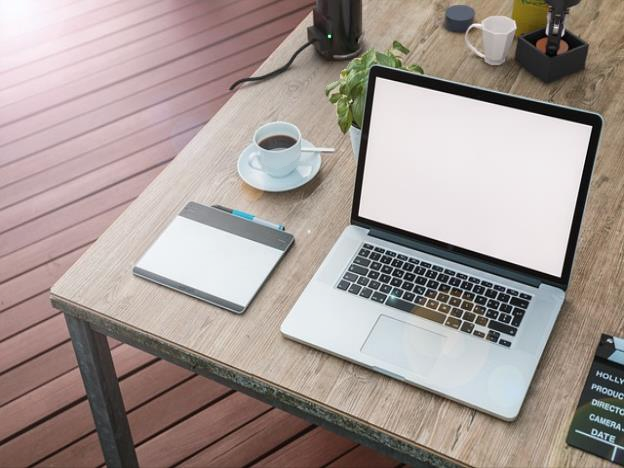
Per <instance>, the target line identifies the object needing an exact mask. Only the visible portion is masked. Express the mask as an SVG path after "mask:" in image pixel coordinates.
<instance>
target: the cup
mask: <svg viewBox="0 0 624 468" xmlns="http://www.w3.org/2000/svg"><path fill="white" fill-rule="evenodd" d="M473 28H477V29H480V30H481V33H482V34H481V35H482V36H481V38H482V46H483V53H481V51H479V50H478V49H476V48H475V47H474V45H472V44H471V42H470V41H469V38H468V35H469V31H470V30H471V29H473ZM516 29H517V28H516V23H515V21H514V20H512V19H511V18H510V17H508V16H506V15H490V16H488V17H486V18H484V19H483V20H482V21H481V23H474V24H472V25H471V26H470V27H469V28H468V30H467V31H465V36H464V42H465V44H466V45H467V47H468V48H469V49H470V50H471V51H472V52H473V53H474V54H475V55H477V56H478V57H479V58H483V59H484V63H486V64H488V65H491V66H501V65H502V64H504V63H505V62H506V57H508V54H509V52H510V49H511V46H512V45H513V44H512V43H513V40H514V38H515V37H514V35H515V32H516Z"/></svg>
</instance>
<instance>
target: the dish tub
mask: <svg viewBox="0 0 624 468" xmlns="http://www.w3.org/2000/svg"><path fill="white" fill-rule="evenodd" d="M546 28H547V26H545V27H542V28H539V29H537V30H534V31H531V32H529V33H526V34H524V35H521V36H518V39H517V38H516V45H515V52H514V62H515V63H517V64H518V65H519V66H521V67H522V68H523V69H525V70H526V71H528V72H529V73H530V74H531V75H533V76H534V77H535V78H537V79H538V80H540V81H541V82H542V83H543V84H544V85H548V84H550V83H552V82H554V81H558V80H559V79H562V78H564V77H568V76H569V75H573V74H575V73H578V72H579V71H582V70H584V69H585V66H586V62H587V57H588V54H589V53H588V52H589V49H590V43H589V42H586V41H585V40H583V39H582V38H581V37H579V36H577V35H576V34H574V33H573V32H572V31H570V30H569V29H567V28H566V27H565V32H564V35H563V36H562V37H561V40H563V41H565V42H566V43H567V44H568V51H566V52H564V53H561V54H559V55H556V56H554V57H551V58H550V57H549V56H548V55H546V54H545V53H543V52H542V51H541V50H539V49H538V48H536V43H537V42H538V41H539V40H540V39H543V38H547V37H548V35H547V34H546Z"/></svg>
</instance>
